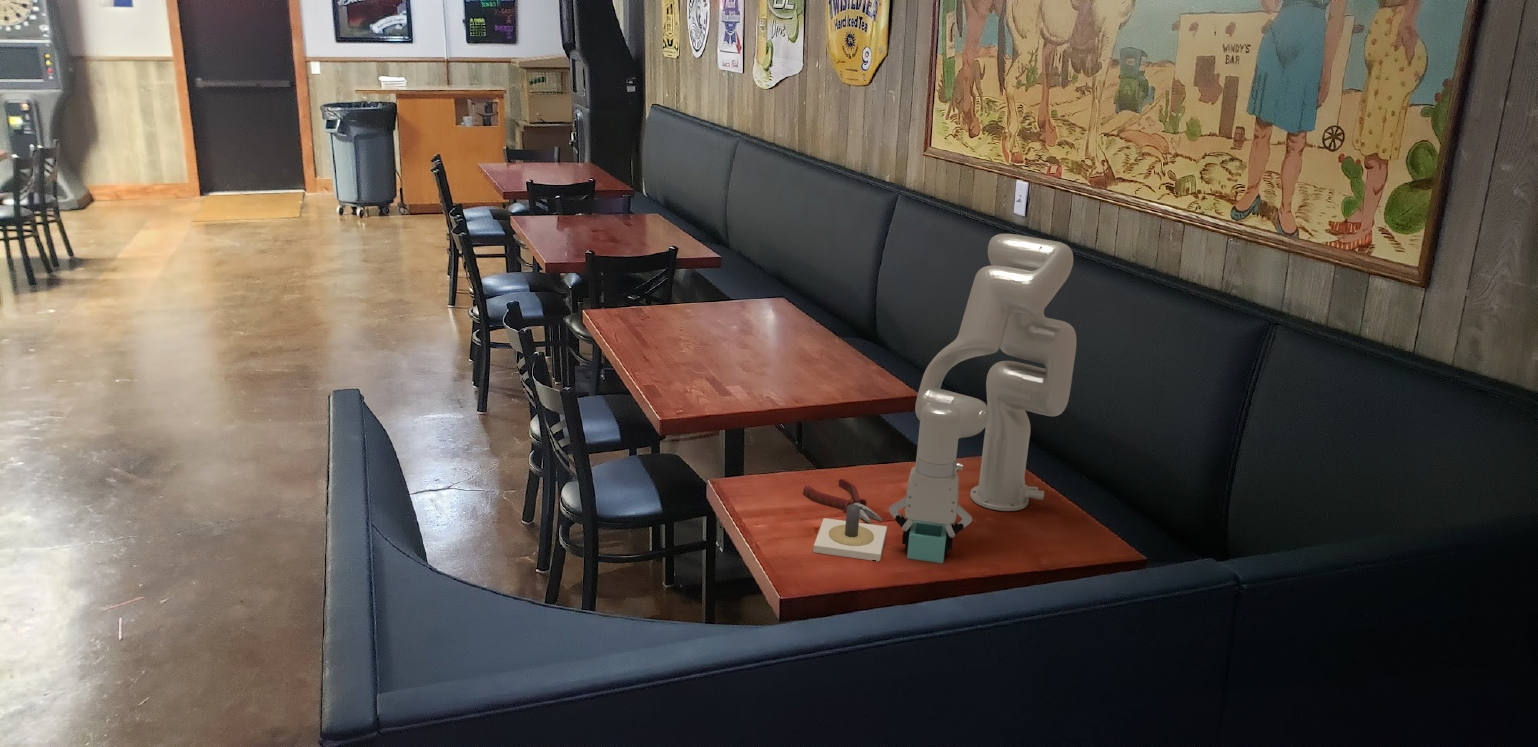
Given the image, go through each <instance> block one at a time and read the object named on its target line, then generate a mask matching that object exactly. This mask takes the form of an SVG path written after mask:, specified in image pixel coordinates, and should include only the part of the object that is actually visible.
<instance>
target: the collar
mask: <svg viewBox="0 0 1538 747" xmlns="http://www.w3.org/2000/svg"><path fill="white" fill-rule="evenodd" d="M910 527H911V529H910V534H909V543H908V550H907V554H906V559H910V560H915V561H916V560H917V561H924V562H932V563H938V564H939V563H940V564H944V559H945V555H944V551H945V542H946V533H947V530H946V528H945V526H944V525H943V524H935V523H928V522H920V521H914V522H913V523H912V525H911V526H910Z"/></svg>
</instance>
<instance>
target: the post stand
mask: <svg viewBox="0 0 1538 747" xmlns="http://www.w3.org/2000/svg"><path fill="white" fill-rule="evenodd" d="M845 514H846V516H845V520H841V519H833V518H828V517H827V518H825V517H823V519H822V522H821V525H820V528H819V529H818V532H817V536H816V539H815V541H814V544H813V550H812V551H813V552H812V553H815V554H816V553H817V554H822V555H831V556H837V557H845V558H851V559H852V558H853V559H858V560H859V559H860V560H866V561H872V560H876V561H875V562H879V561H880V562H881V558H882V553H883V549H884V545H885V541H886V535H887V533H888V532H887V530H888V526H886V525H879V524H872V523H865V522H864V523H862V522H860V518H859V516H860V506H858V505H854V504H851V505H848V506H847V513H845Z"/></svg>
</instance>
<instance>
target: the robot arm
mask: <svg viewBox="0 0 1538 747" xmlns="http://www.w3.org/2000/svg"><path fill="white" fill-rule="evenodd" d="M987 256H988V258H987V259H988V260H989V263H990V265H987V266H983V267H981V268H980V269H979V270H978V271H977V272H976V274H975V276H974V279H973V283H972V285H971V286H972V287H971V289H970V293H969V297H968V299H967V304H966V307H965V310H964V313H963V317H962V321H961V324H960V328H959V331H958V335H956V336H957V337H956V338H955V339H954V340H953V341H951V342H950V343H949V344H948V345H946V346H945V347H943V348H942V349H941V350H940V351H939V352H938V353H937V354H936V355H935V356H934V357H933V359H931V361H930V362H929V364H928V365H927V366H926V368H925V371H924V373H923V374H922V379H921V381H920V385H919V389H918V393H917V396H916V401H915V410H914V411H915V415H916V417H917V419H918V420H919V429H918V440H917V448H916V458H915V466H913V467H912V468H911V469H910V473H909V477H908V481H907V486H906V492H905V496H904V497H903V498H901V499H900V500H897V501H896V502H895V503H893V504H891V505H890V506H889V507H888V512H889V513H890V515H891V516H892V517H893V518H894V521H895V522H896V523H897V524H898V525H899V526H900V528H901V530H902V541H901V544H903V545H904V550H905V551H908V543H909V534H910V529H911V525H912V523H913V522H914V521H920V522H928V523H935V524H943V525H944V526H945V528H946V530H947V533H946V542H945V551H944V556H948V554H949V551H952V549H953V540H954V537H955V536H956V535H957V534H959V533H960V532H961V531H963V530H964V529H965V528H966V527H967V526H969V525H970V523H972V522H973V517H972V516H971V514H969V513H968V511H966V510H965V509H964V507H962V506H961V505H960V504H959V496H960V495H959V491H960V479H959V477H960V476H959V473H958V472H959V471H963V467H964V463H960V462H959V461H958V460H957V454H958V447H959V446H958V444H959V440H960V439H962V438H970V437H974V436H976V435H978V434H980V433H982V431H983V430H984V429H985V431H984V436H983V437H984V438H983V445H982V455H981V463H980V471H979V480H978V485H975V486H974V487H972V488H971V489H970V495H969V496H970V499H971V500H972V501H973V502H974V503H976V504H977V505H978V506H981V507H983V508H986V509H989V510H993V511H994V510H995V511H999V512H1016V511H1020V510H1023V509H1024V508H1026V507H1027V506H1028V504H1029V499H1035V500H1039V501H1041V500H1042V501H1043V500H1044V496H1045V491H1044V490H1039V487H1038V486H1028V484H1026V479H1025V475H1026V467H1027V458H1028V453H1029V451H1028V450H1029V443H1030V437H1031V423H1030V421H1031V420H1030V419H1029V416H1028V414H1027V412H1031V413H1034V414H1038V415H1043V416H1047V417H1057V416H1059V415H1061V414H1062V413H1063V412H1065V411H1066V410H1065V409H1066V408H1067V406H1068V403H1069V400H1070V399H1069V398H1070V393H1071V387H1072V381H1073V372H1074V368H1075V367H1074V365H1075V358H1076V351H1077V333H1076V331H1075V329H1074V327H1073V326H1072V325H1071V324H1070V323H1068V322H1067V321H1063V320H1061V319H1055V318H1050V317H1047V316H1045V308H1046V307H1048V304H1049V303H1050V302H1051V301H1052V300H1053V298H1054V297H1055V296H1056V294H1057V293H1058V292H1059V291H1060V289H1061V288H1062V286H1063V285H1064V284H1065V283H1066V281H1067V280H1068V278H1069V276H1070V274H1071V272H1072V268H1073V265H1074V254H1073V250H1072V249H1071V247H1070V246H1068V245H1067V244H1065V243H1063V242H1061V241H1057V240H1056V241H1055V240H1050V239H1045V238H1044V239H1043V238H1038V237H1033V236H1028V235H1022V234H1015V233H1014V234H1013V233H998V234H996V235H994V236H992V237H991V238H990V240H989V242H988V246H987ZM999 350H1001V352H1003V353H1004V354H1006V355H1007V356H1010V357H1014V358H1017V359H1020V360H1021V359H1022V360H1026V361H1030V362H1034V363H1037V364H1041V365H1044V366H1045V367H1043V368H1042V367H1039V366H1035V365H1033V364H1027V363H1022V362H1018V361H1012V360H1002V361H998V362H996V363H994V364H993V365H992V366H991V367H990V369H989V370H988V373H987V374H986V375H987V376H986V383H985V387H986V388H985V390H986V402H984V401H983V400H981V399H979V398H975V397H973V396H969V395H965V394H962V393H958V392H953V391H950V390H945V389H942V388H941V387H942V383H943V381H944V379H945V377H946V375H947V374H948V372H949V371H950V370H951V369H952V368H953V367H955V366H956V365H958V364H960V363H961V362H963V361H966V360H969V359H972V358H976V357H981V356H987V355H992V354H995V353H997V352H998V351H999ZM986 403H987V404H986ZM903 508H904V509H903ZM902 509H903V513H904V514H903V515H902V513H901V512H900V511H899V510H902ZM957 516H959V517H960V518H961V520H959V521H958V522H956V521H957V520H956V519H957ZM955 522H956V523H955Z"/></svg>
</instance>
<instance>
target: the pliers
mask: <svg viewBox="0 0 1538 747" xmlns="http://www.w3.org/2000/svg"><path fill="white" fill-rule="evenodd" d="M838 487H840V488H841V489H842V490H844V491H847V493H849V494H850V496H851V499H845V498H843V497H838V496H834V495H831V494H826V493H823V492H820V491H818V490H815V489H814V488H813V487H811V486H810V485H806V486H804V487H803V492H802V493H803V495H804V496H805V497H807V498H808V499H810V500H811V501H813V502H815V503H818V504H820V505H824V506H829V507H832V508H836V509H839V510H842V511H843V512H842V513H844V514H846V513H847V506H848V505H851V504H854V505H858V506H860V516H859V519H862V520H863V521H865V522H867V523H868V524H872V523H873V522H872V520H871V519H874V520H877V521H881V522H883V521H884V520H883V518H882V517H881V516H880V515H878V514H877V513H876V512H874V511H873V510H872V509H871V508H869V507H868V506H867V501H866V499H865V498H860V496H859V495H860V494H859V492H858V489H857V487H856V486H855V485H854V484H853V482H850V481H848V480H846V479H844V478H840V479H839V480H838ZM852 500H853V501H852ZM869 517H870V518H869Z"/></svg>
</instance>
